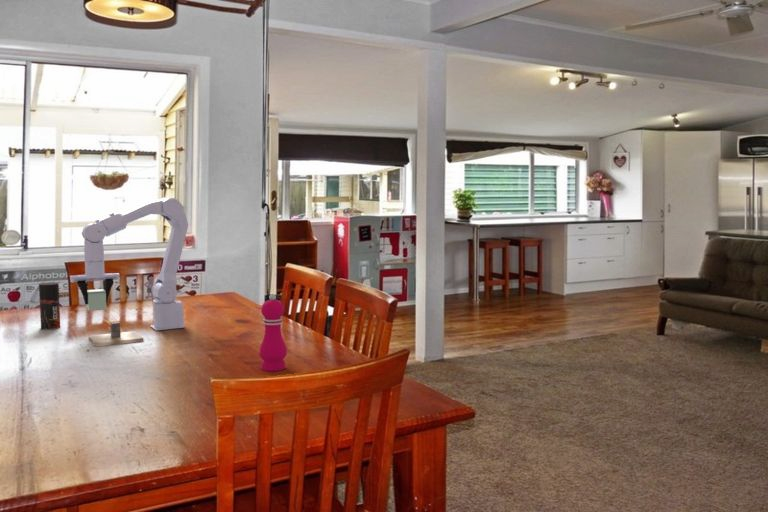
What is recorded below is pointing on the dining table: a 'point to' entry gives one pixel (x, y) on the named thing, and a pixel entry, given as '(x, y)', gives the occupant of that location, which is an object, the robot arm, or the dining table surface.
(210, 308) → the dining table surface
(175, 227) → the robot arm
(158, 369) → the dining table surface
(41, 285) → the deodorant
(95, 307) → the mint green grooved cube
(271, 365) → the pepper mill
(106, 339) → the board
